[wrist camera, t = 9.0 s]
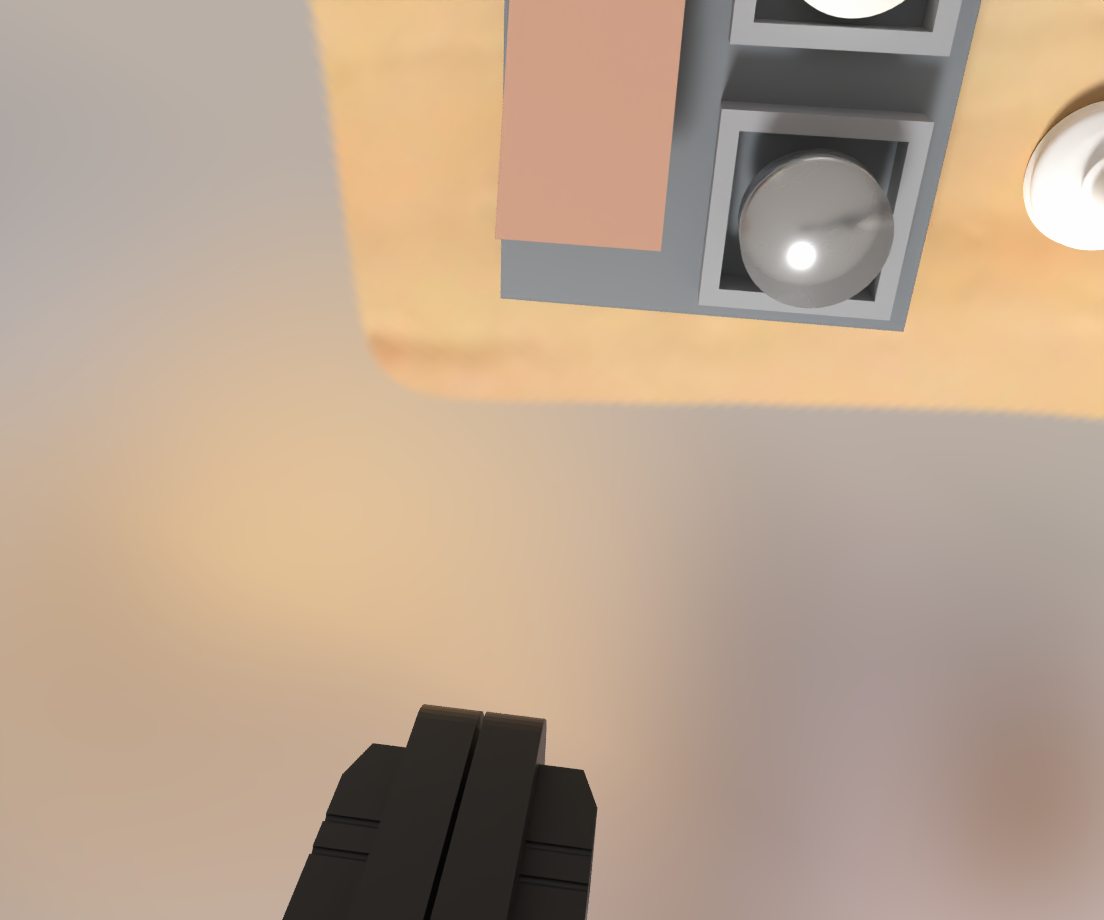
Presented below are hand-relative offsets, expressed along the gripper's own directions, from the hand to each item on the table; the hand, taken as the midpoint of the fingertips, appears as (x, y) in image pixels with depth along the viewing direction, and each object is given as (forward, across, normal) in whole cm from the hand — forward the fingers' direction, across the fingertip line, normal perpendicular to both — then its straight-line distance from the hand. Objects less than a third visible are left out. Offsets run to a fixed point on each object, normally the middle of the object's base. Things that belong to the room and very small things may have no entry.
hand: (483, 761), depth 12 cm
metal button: (+23, -6, -1) cm, 23 cm away
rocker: (+22, +1, -5) cm, 23 cm away
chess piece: (+27, -16, -2) cm, 32 cm away
